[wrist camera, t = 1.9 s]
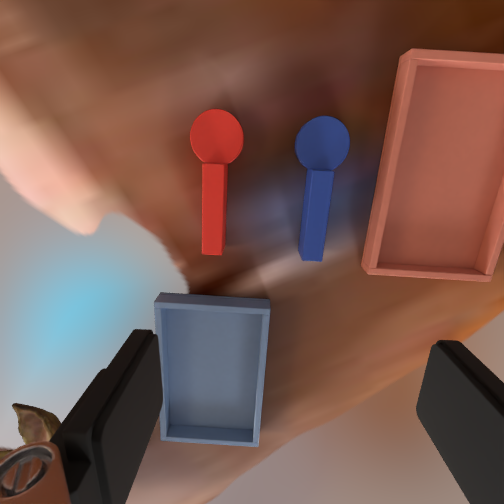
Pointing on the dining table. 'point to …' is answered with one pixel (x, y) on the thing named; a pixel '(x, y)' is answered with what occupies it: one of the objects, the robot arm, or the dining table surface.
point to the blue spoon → (319, 178)
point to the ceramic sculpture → (34, 424)
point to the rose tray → (441, 170)
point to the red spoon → (215, 171)
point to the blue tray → (212, 367)
